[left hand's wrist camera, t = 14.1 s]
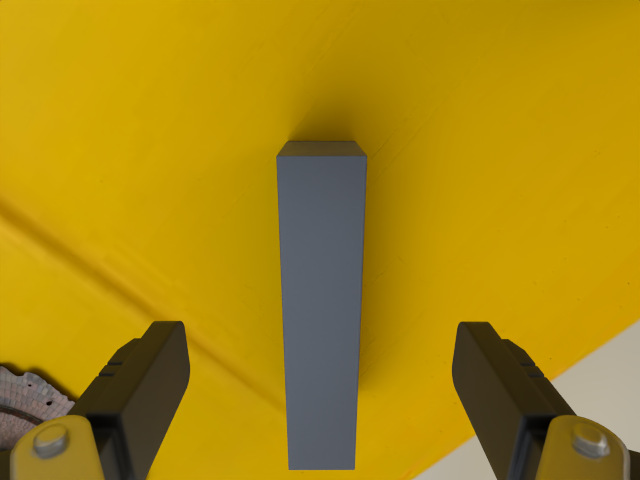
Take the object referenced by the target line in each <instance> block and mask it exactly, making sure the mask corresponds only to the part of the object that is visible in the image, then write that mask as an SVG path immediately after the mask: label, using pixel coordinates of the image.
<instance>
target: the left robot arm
mask: <svg viewBox="0 0 640 480" xmlns="http://www.w3.org/2000/svg"><path fill="white" fill-rule="evenodd" d="M189 377H190V363H189V355H188V348H187V341H186V334H185V327H184V324H183V322H182V321H154V322H153V323H152V324H151V325H150V327H149V328H148V330H147V331H146V332H145V334H144V335H143V336H142V338H134V339H133V340H131V341H130V342H128V343H127V344H125V345H124V346H122V347H121V348H120V349H118V350H117V351H116V353H115V354H114V355H113V356H112V358H111V359H110V360H109V361H108V364H107V365H105V366H104V368H103V369H102V370H101V371H100V373H99V376H96V378H95V379H94V380H93V381H92V383H91V384H90V385H89V386H88V388H87V389H86V390H85V391H84V393H83V394H82V395H81V397H80V398H79V399H78V400H77V402H76V403H75V404H74V405H73V407H72V408H71V409H70V410H69V412H68V413H67V414H66V415H65V416H60V417H56V418H53V419H51V420H48V421H46V422H44V423H42V424H40V425H38V426H36V427H34V428H33V429H31V430H30V431H29V432H27V433H26V434H25V435H24V436H23V437H22V438H21V439H20V440H19V441H18V442H17V443H16V444H15V446H14V448H13V449H10V450H6V451H2V452H0V480H145V478H146V476H147V474H148V472H149V469H150V467H151V465H152V463H153V461H154V459H155V456H156V454H157V452H158V450H159V448H160V445H161V443H162V441H163V439H164V437H165V434H166V432H167V430H168V428H169V426H170V424H171V421H172V419H173V417H174V415H175V413H176V410H177V408H178V406H179V404H180V402H181V399H182V397H183V395H184V393H185V391H186V388H187V386H188V382H189ZM452 377H453V383H454V387H455V389H456V391H457V394H458V396H459V398H460V400H461V402H462V404H463V407H464V409H465V411H466V413H467V415H468V417H469V420H470V422H471V424H472V426H473V428H474V430H475V433H476V435H477V437H478V439H479V441H480V443H481V445H482V448H483V450H484V452H485V454H486V456H487V458H488V461H489V463H490V465H491V467H492V469H493V471H494V474H495V476H496V478H497V480H640V453H639V452H635V451H631V450H628V449H627V448H626V446H625V444H624V443H623V442H622V441H621V440H620V439H619V438H618V437H617V436H616V435H615V434H614V433H613V432H611V431H610V430H609V429H607V428H605V427H604V426H602V425H600V424H598V423H596V422H594V421H592V420H589V419H586V418H583V417H579V416H577V415H576V414H575V412H574V411H573V410H572V409H571V407H570V406H569V405H568V404H567V403H566V401H565V400H564V399H563V398H562V396H561V395H560V394H559V393H558V391H557V390H556V389H555V388H554V386H553V385H552V384H551V383H550V381H549V380H548V379H547V378H546V377H544V374H543V373H542V371H541V370H540V369H539V368H538V366H535V363H534V362H533V360H532V359H531V358H530V357H529V355H528V354H527V353H526V352H525V350H523V349H522V348H520V347H519V346H517V345H516V344H514V343H513V342H512V341H510V340H509V339H501V338H500V336H499V335H498V334H497V332H496V331H495V330H494V328H493V327H492V326H491V324H490V323H488V322H460V323H459V325H458V328H457V335H456V342H455V349H454V356H453V363H452Z"/></svg>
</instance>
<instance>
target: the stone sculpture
mask: <svg viewBox="0 0 640 480" xmlns="http://www.w3.org/2000/svg"><path fill="white" fill-rule="evenodd" d="M28 384H30V385H31V387H29V386H28ZM48 401H52V404H51V405H50V406H48V405H46V402H48ZM74 404H75V403H74V402H73V401H68V399H67V396H65V395H62V394H60V392H59V391H57V390H56V389H54V387H52V386H51V385H50V384H47V383H46V381H45V380H42V378H40V377H39V376H38V375H36V374H33V373H29V372H26V373H25V374H24V375H23V376H16V375H14V374H12V373H11V372H9V371H8V370H7V369H6V368H5V367H2V366H0V452H2V451H6V450H10V449H13V448H14V446H15V444H16V443H17V442H18V441H19V440H20V439H21V438H22V437H23V436H24V435H25V434H26V433H27V432H29V431H30V430H31V429H33V428H34V427H36V426H38V425H40V424H42V423H44V422H46V421H48V420H51V419H53V418H56V417H60V416H65V415H66V414H67V413H68V412H69V410H70V409H71V408H72V407H73V405H74Z"/></svg>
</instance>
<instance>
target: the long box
mask: <svg viewBox="0 0 640 480" xmlns="http://www.w3.org/2000/svg"><path fill="white" fill-rule="evenodd" d="M366 170H367V155H366V154H365V153H364V152H363V150H362V149H361V148H360V147H359V146H358V144H357V143H356V142H355V141H287V143H286V144H285V145H284V147H283V148H282V149H281V151H280V152H279V154H278V155H277V182H278V208H279V233H280V259H281V284H282V310H283V335H284V361H285V387H286V412H287V438H288V463H289V470H354V469H355V447H356V422H357V397H358V372H359V347H360V321H361V296H362V271H363V246H364V221H365V195H366Z"/></svg>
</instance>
